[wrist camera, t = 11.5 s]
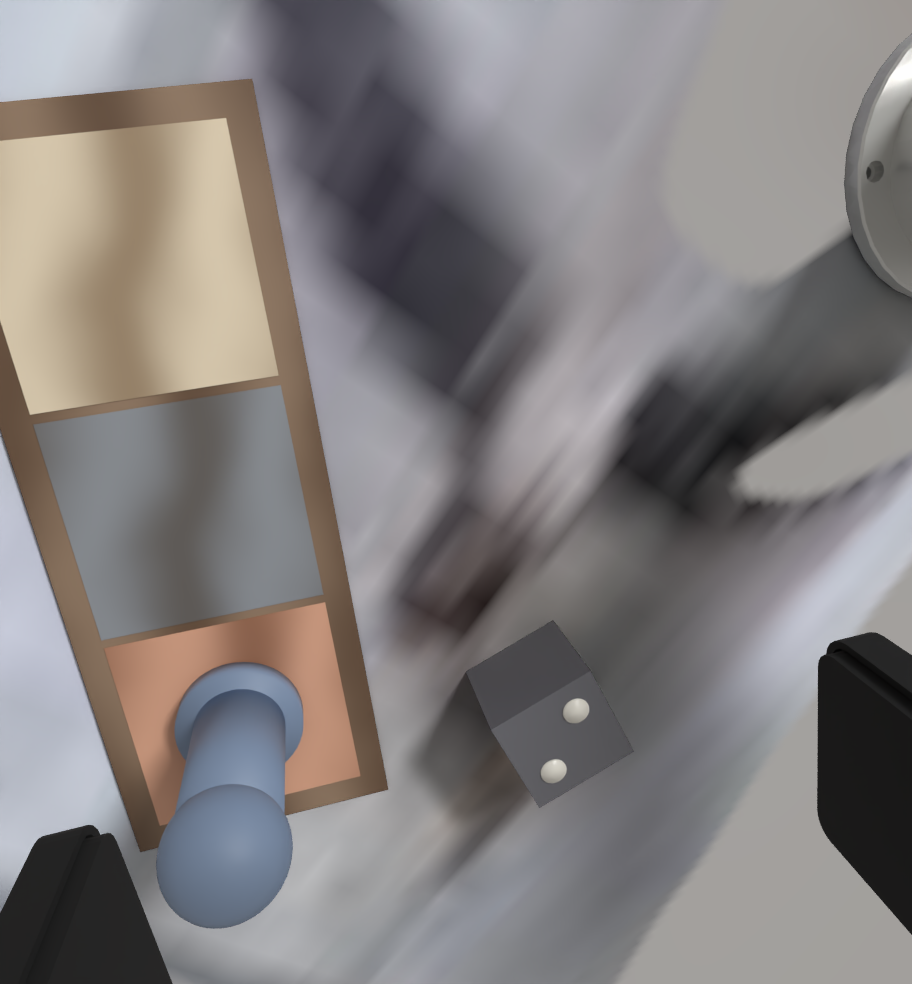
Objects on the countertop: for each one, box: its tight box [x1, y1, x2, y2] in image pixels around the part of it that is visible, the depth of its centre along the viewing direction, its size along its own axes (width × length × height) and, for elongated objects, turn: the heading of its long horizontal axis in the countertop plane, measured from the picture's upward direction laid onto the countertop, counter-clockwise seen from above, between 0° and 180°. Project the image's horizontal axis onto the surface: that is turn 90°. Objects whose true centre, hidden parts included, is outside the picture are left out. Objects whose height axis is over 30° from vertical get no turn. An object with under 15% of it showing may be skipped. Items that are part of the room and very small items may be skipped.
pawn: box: [156, 662, 303, 928], centre depth 29 cm, size 6×6×11 cm
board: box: [0, 79, 388, 852], centre depth 31 cm, size 12×32×1 cm, turn 8°
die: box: [466, 621, 633, 808], centre depth 35 cm, size 5×5×5 cm
